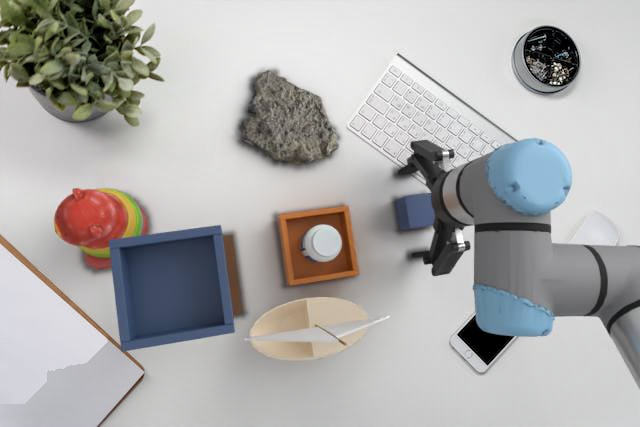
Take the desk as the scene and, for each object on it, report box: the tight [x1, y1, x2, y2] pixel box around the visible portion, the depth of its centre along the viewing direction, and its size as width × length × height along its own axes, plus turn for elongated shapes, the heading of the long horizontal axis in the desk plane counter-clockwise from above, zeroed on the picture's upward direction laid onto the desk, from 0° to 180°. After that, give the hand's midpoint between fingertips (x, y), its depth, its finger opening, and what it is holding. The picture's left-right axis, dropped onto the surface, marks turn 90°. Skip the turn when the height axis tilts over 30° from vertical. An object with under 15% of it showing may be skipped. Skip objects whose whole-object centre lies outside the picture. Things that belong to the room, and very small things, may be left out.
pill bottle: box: [300, 224, 342, 263], centre depth 77 cm, size 5×5×10 cm
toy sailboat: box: [244, 296, 391, 362], centre depth 69 cm, size 21×25×9 cm
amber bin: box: [276, 205, 360, 287], centre depth 81 cm, size 11×11×4 cm
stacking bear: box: [53, 187, 149, 271], centre depth 69 cm, size 11×10×18 cm
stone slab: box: [240, 69, 340, 165], centre depth 83 cm, size 12×17×3 cm
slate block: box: [394, 192, 435, 231], centre depth 83 cm, size 5×5×5 cm
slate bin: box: [109, 224, 244, 353], centre depth 63 cm, size 12×12×34 cm
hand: (412, 212), depth 86 cm, fingers open, 13 cm apart
